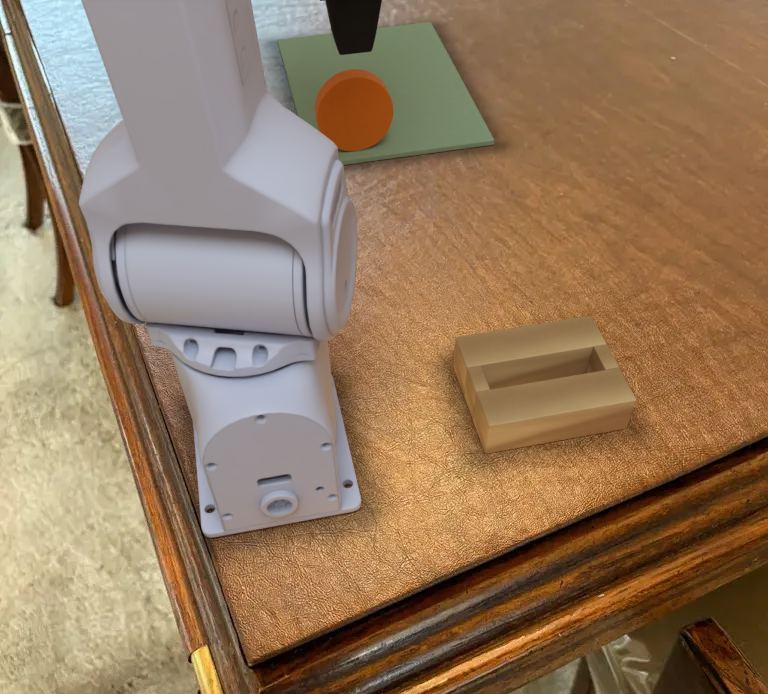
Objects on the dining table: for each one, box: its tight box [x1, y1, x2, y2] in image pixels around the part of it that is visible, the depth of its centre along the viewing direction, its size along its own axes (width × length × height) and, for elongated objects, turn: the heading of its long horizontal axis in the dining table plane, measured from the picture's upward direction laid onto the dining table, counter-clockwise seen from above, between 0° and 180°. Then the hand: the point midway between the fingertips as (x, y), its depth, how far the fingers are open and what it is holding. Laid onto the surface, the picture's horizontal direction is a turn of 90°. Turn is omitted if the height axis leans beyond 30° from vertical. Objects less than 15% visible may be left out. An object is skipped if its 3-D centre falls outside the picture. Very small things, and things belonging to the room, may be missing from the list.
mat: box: [277, 21, 495, 166], centre depth 65 cm, size 20×14×1 cm
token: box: [314, 69, 393, 151], centre depth 57 cm, size 1×6×6 cm, turn 102°
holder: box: [452, 314, 637, 455], centre depth 44 cm, size 7×8×2 cm
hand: (344, 23), depth 50 cm, fingers open, 7 cm apart
